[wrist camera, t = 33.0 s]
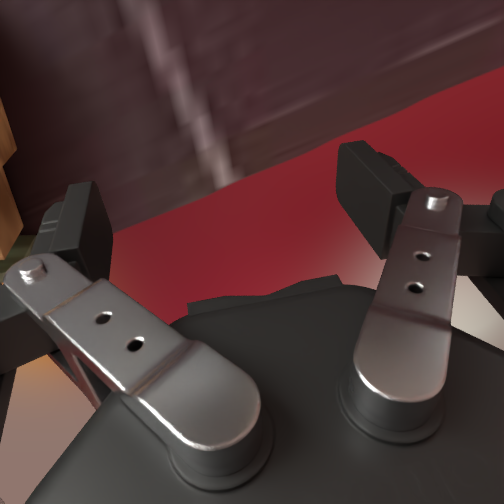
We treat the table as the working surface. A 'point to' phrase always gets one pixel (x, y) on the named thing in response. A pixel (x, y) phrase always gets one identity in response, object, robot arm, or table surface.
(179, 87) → the table surface
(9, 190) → the drawer
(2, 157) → the cabinet
